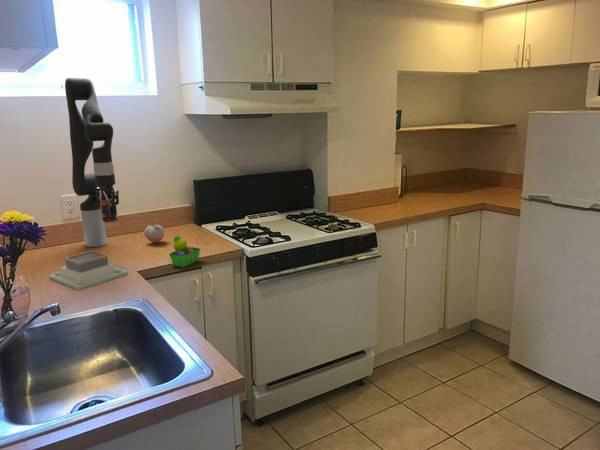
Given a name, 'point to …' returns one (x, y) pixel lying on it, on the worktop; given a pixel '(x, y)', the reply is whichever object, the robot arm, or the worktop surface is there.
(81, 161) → the robot arm
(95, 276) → the stacked grey pedestal
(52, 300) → the worktop surface
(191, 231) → the worktop surface
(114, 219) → the supplement bottle
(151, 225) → the decorative fruit
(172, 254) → the fruit basket
